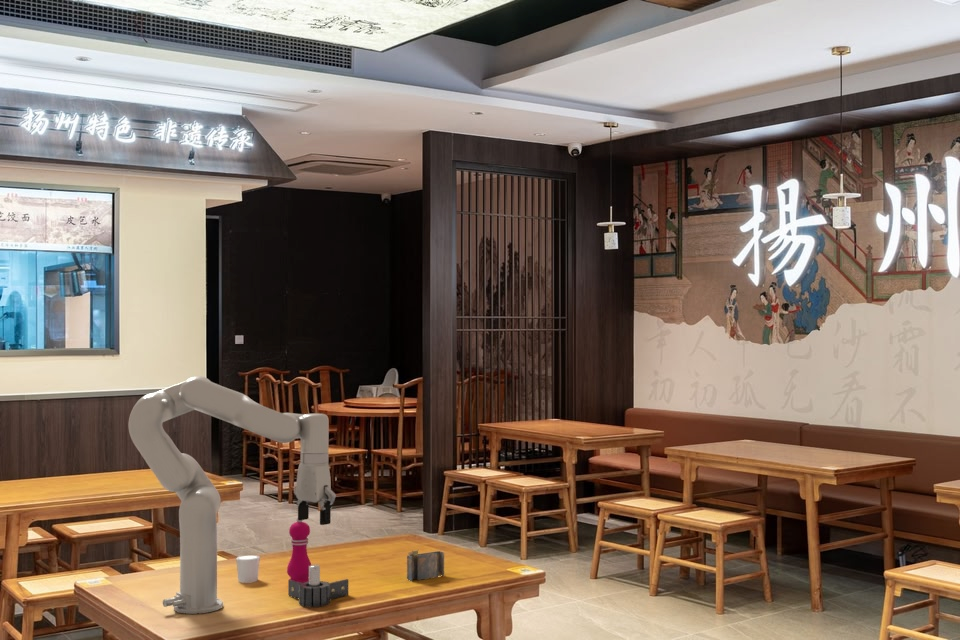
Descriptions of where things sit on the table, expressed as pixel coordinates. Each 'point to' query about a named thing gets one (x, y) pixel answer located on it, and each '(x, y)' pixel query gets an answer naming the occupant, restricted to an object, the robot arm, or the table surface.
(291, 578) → the pepper mill
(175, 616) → the table surface
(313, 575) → the hinge pin
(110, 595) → the table surface
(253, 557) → the white cup
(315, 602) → the hinge
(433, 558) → the rusty metal bracket
